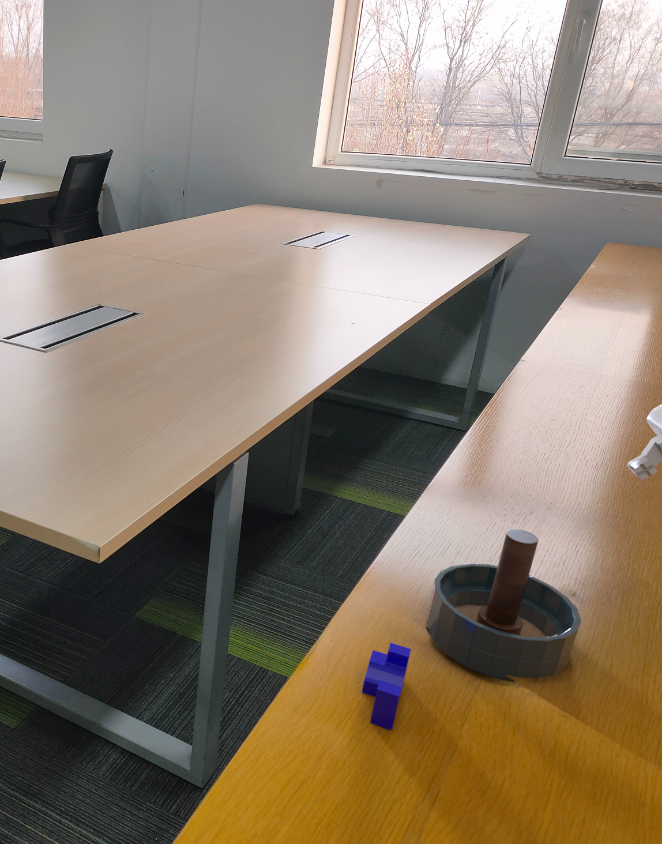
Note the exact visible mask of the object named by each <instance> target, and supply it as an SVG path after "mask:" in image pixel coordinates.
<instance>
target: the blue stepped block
mask: <svg viewBox="0 0 662 844" xmlns="http://www.w3.org/2000/svg"><path fill="white" fill-rule="evenodd" d="M411 652H412V649H411V648H410V647H406V646H403V645H400V644H396V643H393V642H390V643H389V646H388V650H387V653H384V652H380V651H378V650H374V649H373V650H372V651H371V655H370V658H369V661H368V665H367V669H366V673H365V676H364V680H363V684H362V688H361V693H362V694H365V695H368V696H371V697H374V701H373V707H372V711H371V717H370V720H369V721H370V724H371V725H374V726H377V727H381V728H383V729H386V730H389V731H393V727H394V724H395V720H396V716H397V711H398V707H399V703H400V699H401V694H402V690H403V686H404V682H405V678H406V675H407V674H406V673H407V669H408V666H409V665H408V664H409V660H410V656H411Z"/></svg>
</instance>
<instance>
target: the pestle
mask: <svg viewBox="0 0 662 844" xmlns="http://www.w3.org/2000/svg"><path fill="white" fill-rule="evenodd" d="M538 544H539V538H538V536H537V535H536V534H533V533H532V532H529V531H528V530H523V529H519V528H513V529H512V528H511V529H508V530H507V531H506V533H505V536H504V540H503V544H502V548H501V552H500V556H499V559H498V563H497V566H498V567H497V571H496V575H495V579H494V583H493V587H492V591H491V595H490V598H489V602H488V605H487V606H483V605H482V606H481V607H480V608H479V609H478V613H477V616H476V620H475V621H476V622H478V623H480V624H482V625H485V626H488V627H490V628H493V629H496V630H498V631H501V632H506V633H510V634H515V635H519V636H521V634H522V630H523V627H524V621H523V618H521V617H520V616H519V615H518V613H519V609H520V606H521V602H522V598H523V595H524V591H525V588H526V584H527V580H528V577H529V575H530V573H531V569H532V565H533V562H534V558H535V555H536V551H537V547H538Z"/></svg>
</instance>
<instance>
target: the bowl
mask: <svg viewBox="0 0 662 844" xmlns="http://www.w3.org/2000/svg"><path fill="white" fill-rule="evenodd" d="M497 567H498V565H495V564H488V563H471V562H470V563H462V564H453V565H451V566H449V567H447V568H445V569H442V570H440V572H439V573H438V574H437V576H436V577H435V578H434V581H433V584H432V590H431V594H430V598H429V604H428V608H427V612H426V626H425V629H426V631H427V633H428V635H429V636H430V638H431V640H432V642H433V643H434V644H435V645H436V646H437V647H438V648H439V649H440V650H441V651H442V652H443V653H444V654H445V655H446V656H449V657H450V658H451V659H453V660H454V661H456V662H457V663H458V664H460V665H462V666H464V667H465V668H467V669H469V670H471V671H473V672H475V673H478V674H480V675H483V676H486V677H488V678H492V679H496V680H500V681H505V682H510V683H511V682H512V683H517V681H516V680H514V679H513V678H523V679H541V678H546V677H551V676H555V675H557V674H559V673H560V672H562V671H563V670H564V669H566V668H567V667H568V663H569V661H570V659H571V656H572V652H573V650H574V646H575V642H576V640H577V636H578V633H579V631H580V626H581V623H582V619H581V616H580V615H581V614H580V613H579V610H578V608H577V606H576V605H575V604H574V603H573V602H572V600H570V599H569V597H568V596H566V595H565V594H564V593H562V592H561V591H560V590H558V589H557V588H556V587H554V586H552V585H551V584H549V583H547V582H545V581H543V580H541V579H539V578H537V577H535V576H532V575H531V574H529V577H528V580H527V584H526V588H525V591H524V595H523V598H522V602H521V606H520V609H519V613H518V615H519V616H520V617H521V619H522V620H524V621H527V622H528V623H530V624H532V625H533V626H534V627H536V628H537V629H538V630H539V631H540V632H541V633H543V634H544V637H542V636H525V635H520V636H519V635H515V634H510V633H506V632H501V631H498V630H496V629H493V628H490V627H488V626H485V625H482V624H480V623H478V622H476V620H474V619H473V618H471V617H469V616H468V615H466V614H465V613H462V612H460V611H459V610H458V609H457V608H456V607H462V606H469V605H470V606H482V607H483V606H487V605H488V602H489V598H490V595H491V591H492V587H493V583H494V579H495V575H496V571H497Z"/></svg>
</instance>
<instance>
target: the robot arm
mask: <svg viewBox="0 0 662 844" xmlns="http://www.w3.org/2000/svg"><path fill="white" fill-rule="evenodd" d="M646 422H647V424H648V426H649V427H650V428H651V430H652V431H653V433H655V435H656V436H654V437H652V438H651V439H650V440H649V441H648V443H647V445H646V446H645V447H644V449H643V450H642V452H641V454H640V455H637V456H636V457H635V458H633V459H631V460H630V461H628V463H627V467H628V469H629V470H630V471H631V473H632V474H633V475H634V476H635V477H636V478H638V479H639V480H642V481H644V480H646V479H648V478H649V477H650V476H651V477H652V476H653V475H655V474H657V473H658V470H657V468H656V467H657V466H658V465H659V464H660V462H661V461H662V403H661V404H660V405H658V406H656V407H654V408H653V409H652V410H651V411H650V412H649V414H648V415H647V417H646Z"/></svg>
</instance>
